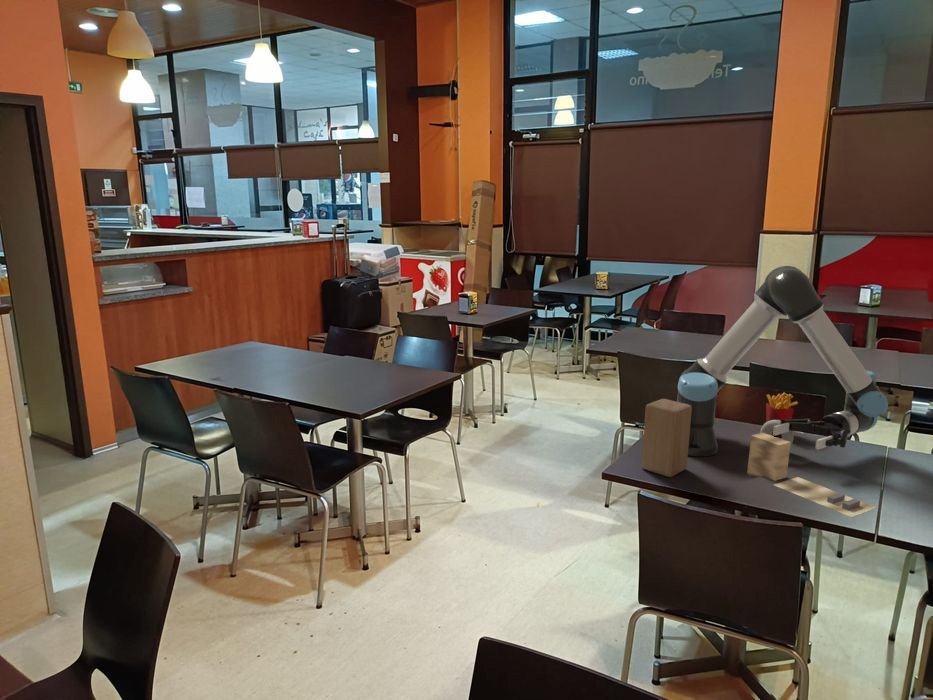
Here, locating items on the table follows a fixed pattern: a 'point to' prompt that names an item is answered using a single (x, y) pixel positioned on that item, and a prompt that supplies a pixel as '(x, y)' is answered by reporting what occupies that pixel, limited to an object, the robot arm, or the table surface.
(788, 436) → the donut
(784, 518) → the table surface
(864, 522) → the table surface
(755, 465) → the block
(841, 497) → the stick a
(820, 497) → the board
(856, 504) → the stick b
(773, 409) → the french fries
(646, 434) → the block
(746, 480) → the table surface
